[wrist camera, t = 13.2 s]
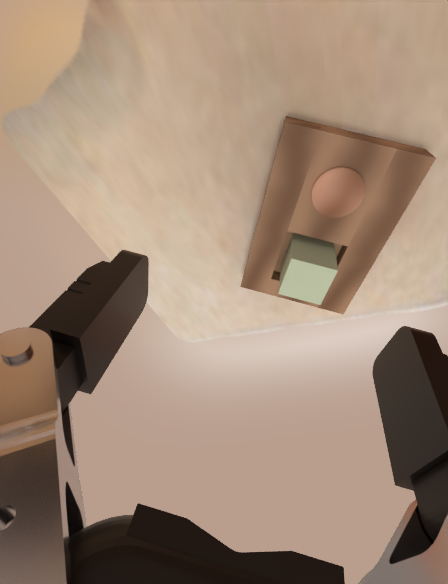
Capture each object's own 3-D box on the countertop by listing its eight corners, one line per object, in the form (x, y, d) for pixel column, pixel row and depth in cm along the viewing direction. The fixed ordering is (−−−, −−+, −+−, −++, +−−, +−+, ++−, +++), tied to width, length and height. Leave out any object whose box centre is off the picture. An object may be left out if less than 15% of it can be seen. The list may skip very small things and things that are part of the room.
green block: (281, 265, 40) (278, 293, 36) (293, 232, 37) (291, 258, 33) (318, 275, 40) (320, 305, 35) (333, 242, 37) (338, 270, 32)
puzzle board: (244, 273, 44) (239, 289, 41) (286, 116, 31) (284, 123, 28) (341, 299, 43) (343, 317, 40) (426, 149, 30) (438, 160, 27)
